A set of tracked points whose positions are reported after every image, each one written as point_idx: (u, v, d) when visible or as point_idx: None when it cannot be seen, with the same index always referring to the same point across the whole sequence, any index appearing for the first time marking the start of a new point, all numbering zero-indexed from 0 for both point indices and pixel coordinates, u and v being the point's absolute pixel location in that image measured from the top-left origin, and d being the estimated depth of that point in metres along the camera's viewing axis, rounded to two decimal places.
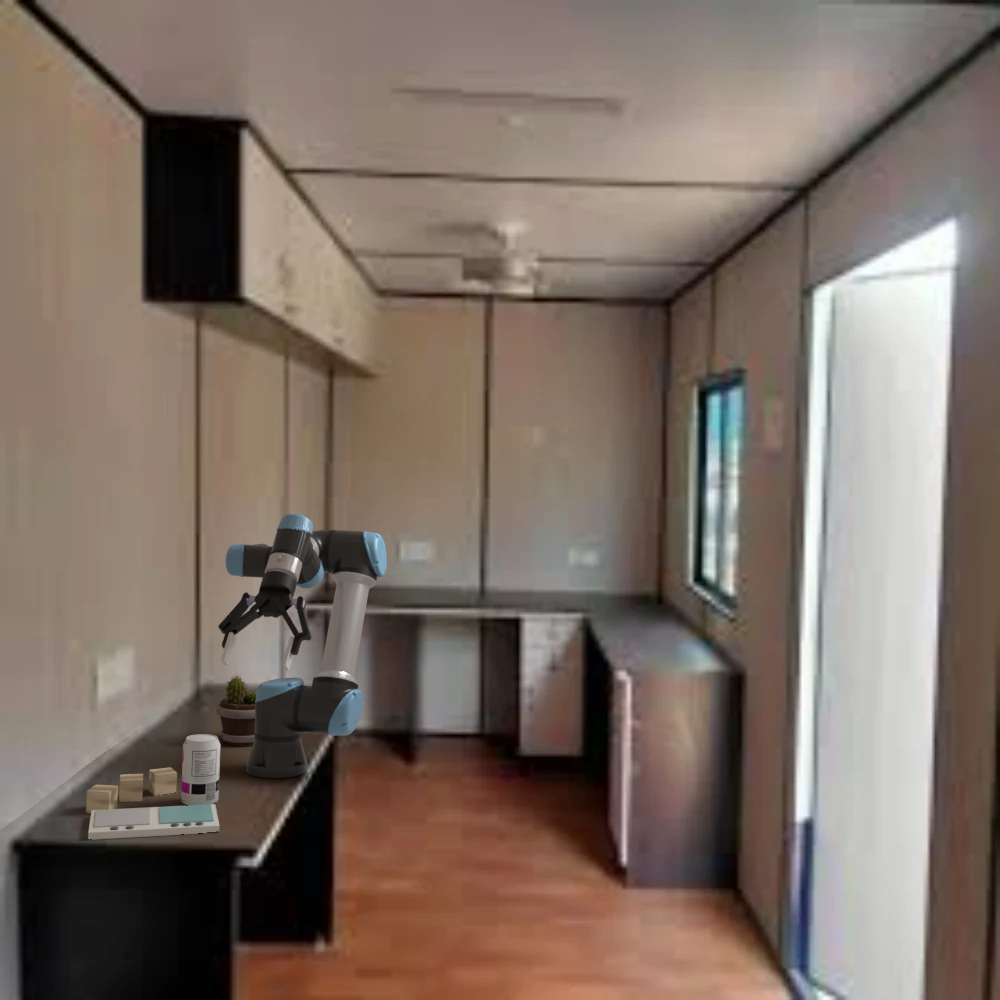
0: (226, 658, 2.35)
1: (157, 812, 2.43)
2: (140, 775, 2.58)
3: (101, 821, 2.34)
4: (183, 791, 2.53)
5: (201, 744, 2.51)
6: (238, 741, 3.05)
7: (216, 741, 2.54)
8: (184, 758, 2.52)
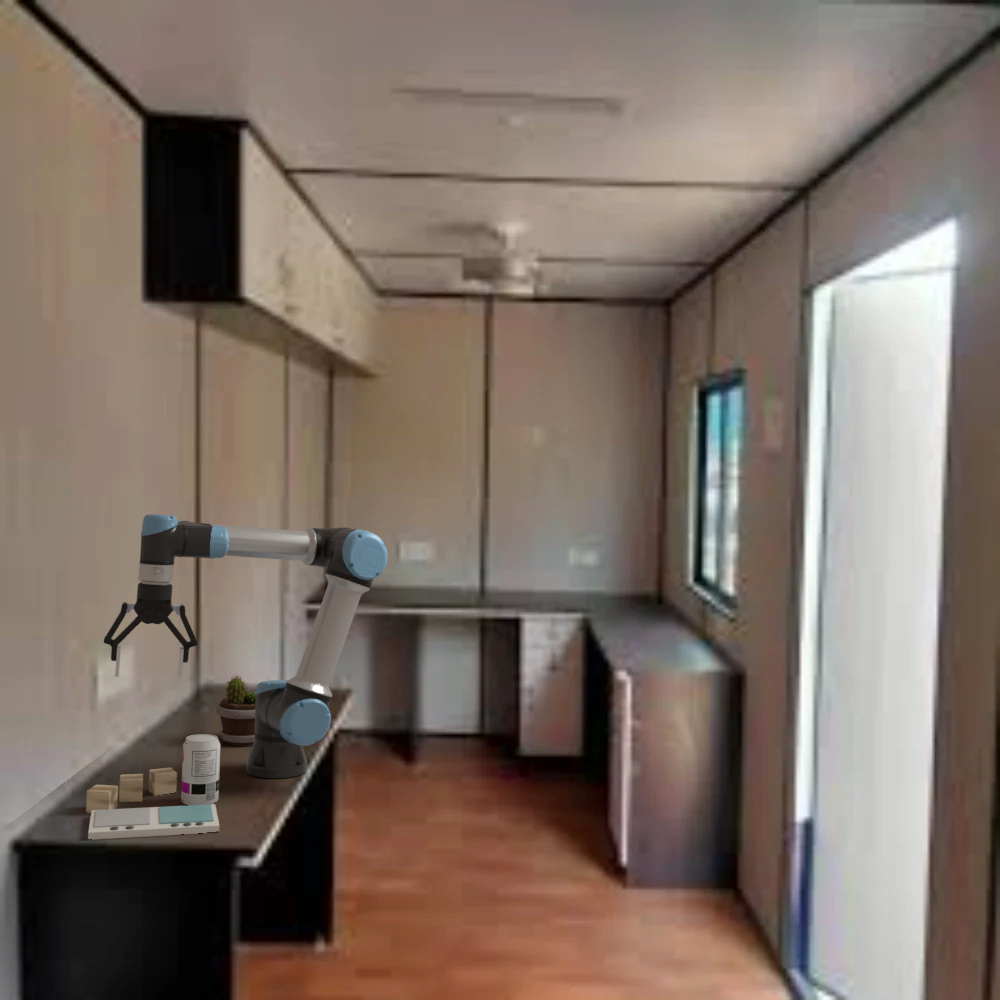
0: None
1: (157, 812, 2.43)
2: (140, 775, 2.58)
3: (101, 821, 2.34)
4: (183, 791, 2.53)
5: (201, 744, 2.51)
6: (238, 741, 3.05)
7: (216, 741, 2.54)
8: (184, 758, 2.52)
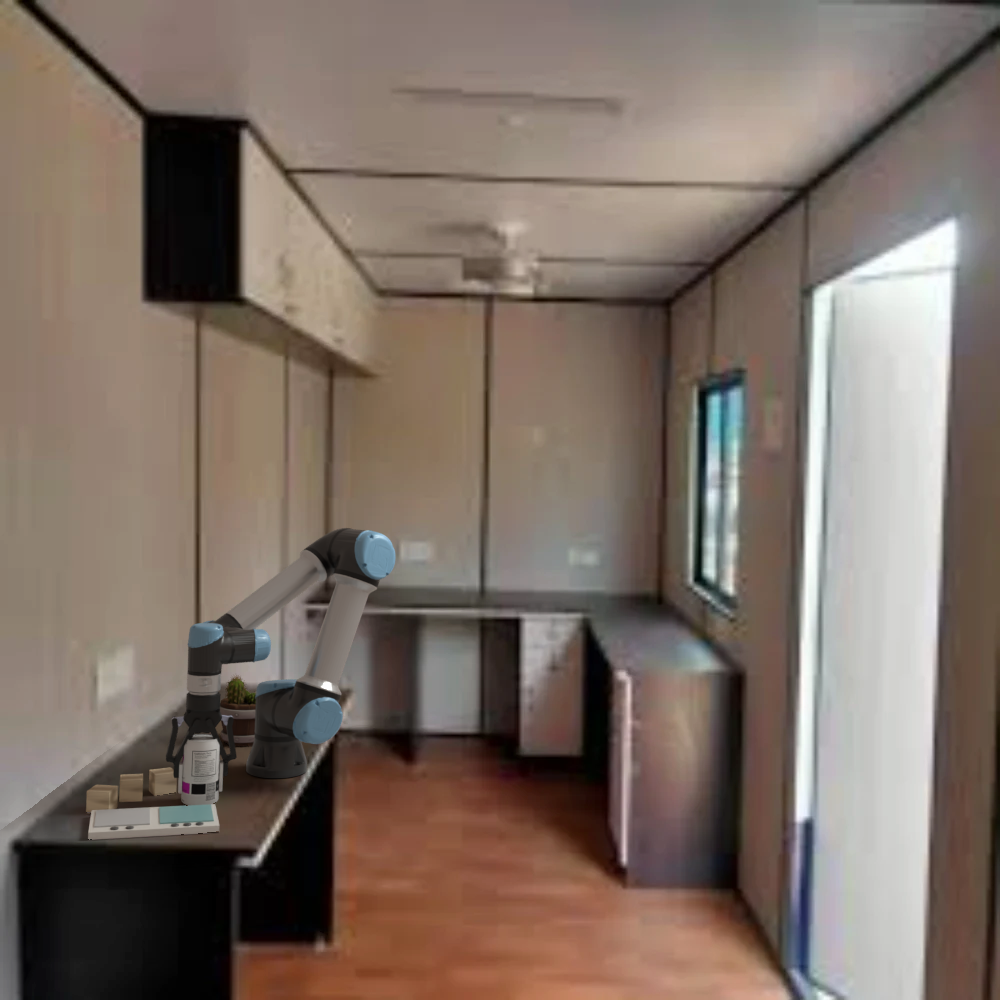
0: None
1: (157, 812, 2.43)
2: (140, 775, 2.58)
3: (101, 821, 2.34)
4: (183, 791, 2.53)
5: (201, 744, 2.51)
6: (238, 741, 3.05)
7: (216, 741, 2.54)
8: (184, 758, 2.52)
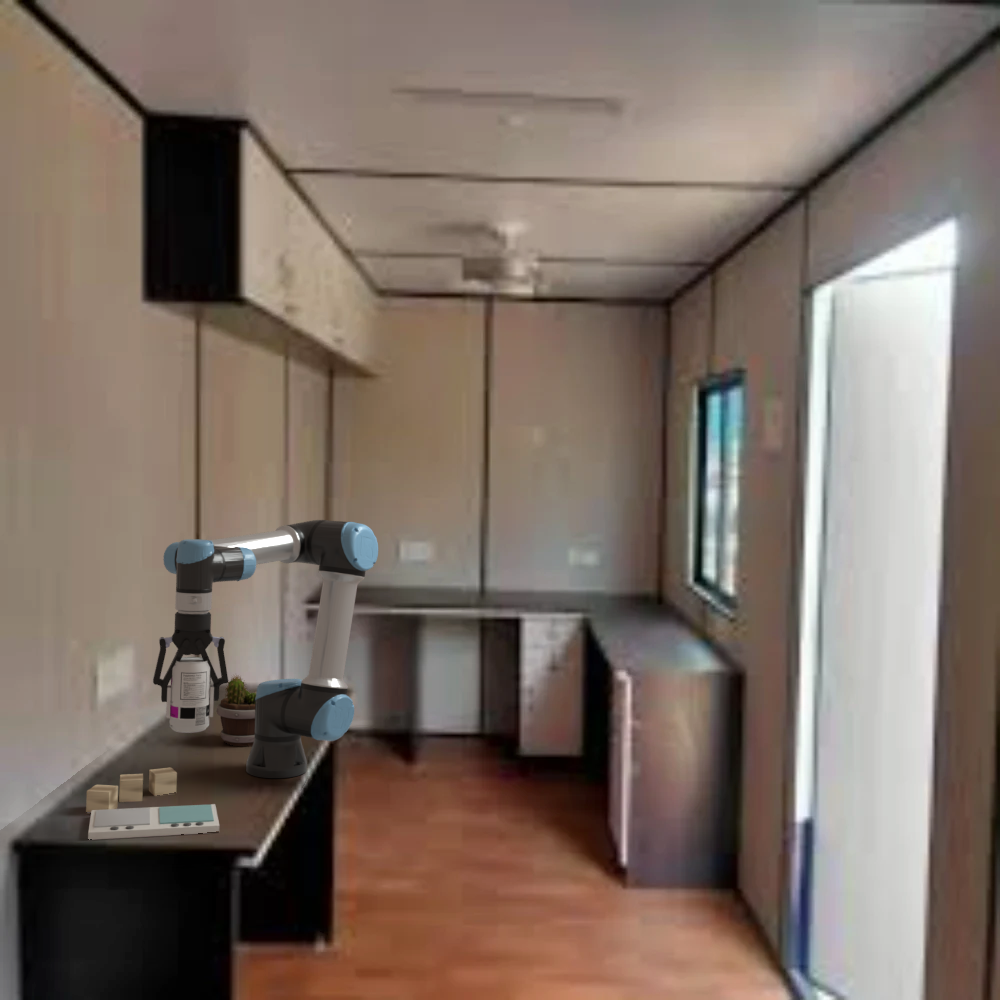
0: None
1: (157, 812, 2.43)
2: (140, 775, 2.58)
3: (101, 821, 2.34)
4: (171, 716, 2.39)
5: (190, 666, 2.37)
6: (238, 741, 3.05)
7: (206, 663, 2.40)
8: (172, 681, 2.38)
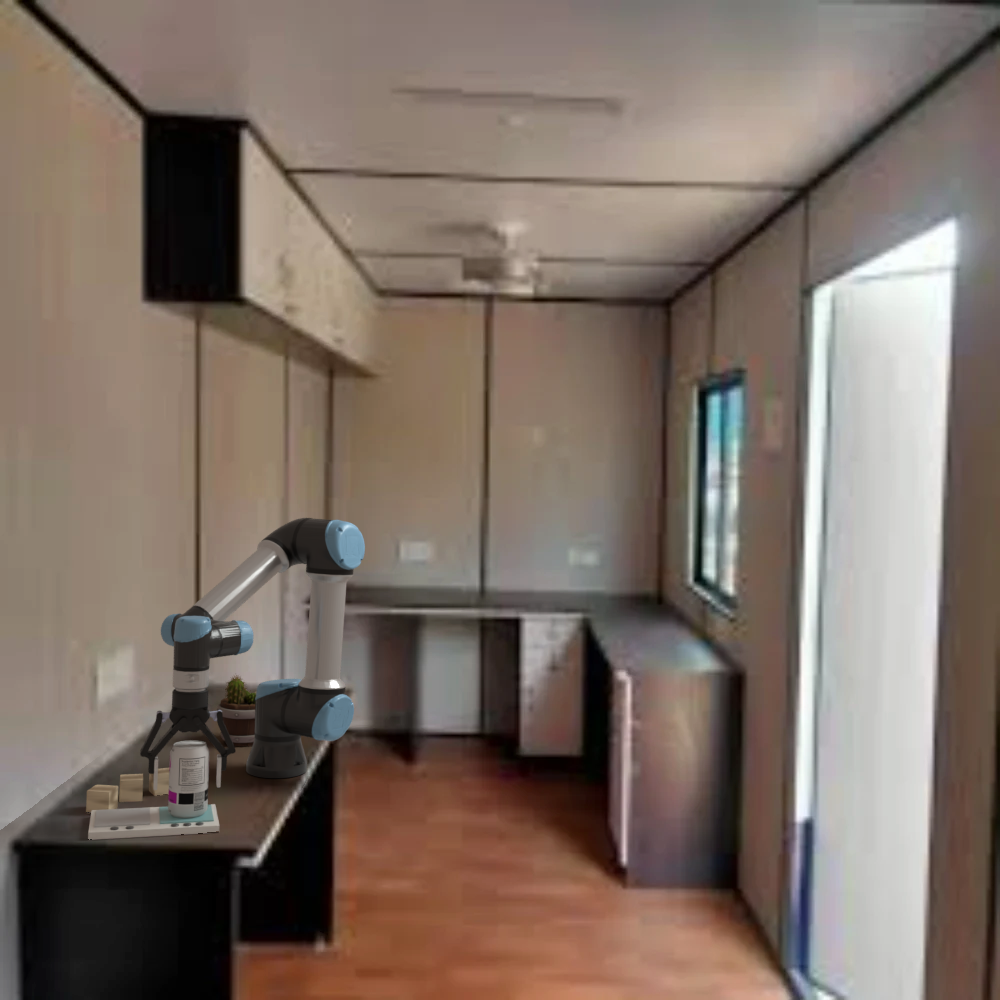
0: None
1: (157, 812, 2.43)
2: (140, 775, 2.58)
3: (101, 821, 2.34)
4: (169, 801, 2.39)
5: (188, 752, 2.38)
6: (238, 741, 3.05)
7: (205, 748, 2.41)
8: (171, 766, 2.39)
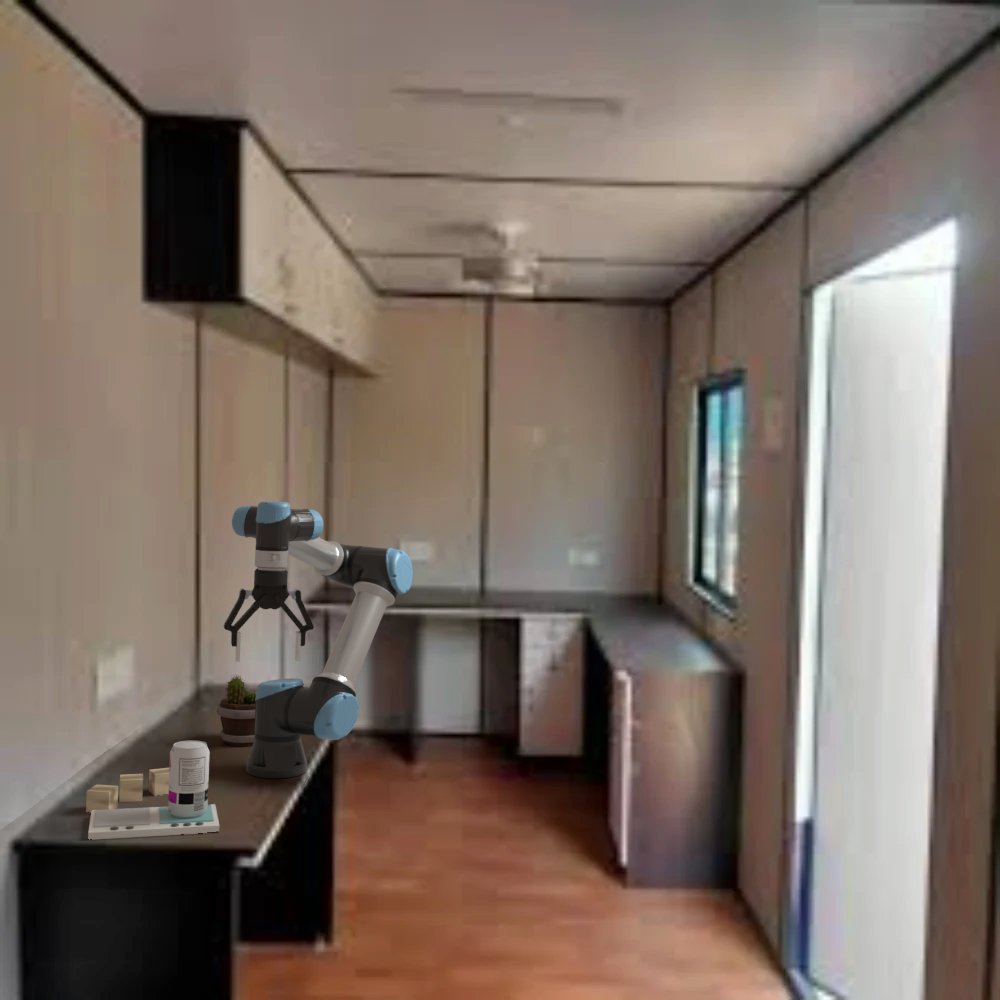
0: None
1: (157, 812, 2.43)
2: (140, 775, 2.58)
3: (101, 821, 2.34)
4: (170, 801, 2.39)
5: (189, 752, 2.38)
6: (238, 741, 3.05)
7: (205, 748, 2.41)
8: (171, 766, 2.39)
